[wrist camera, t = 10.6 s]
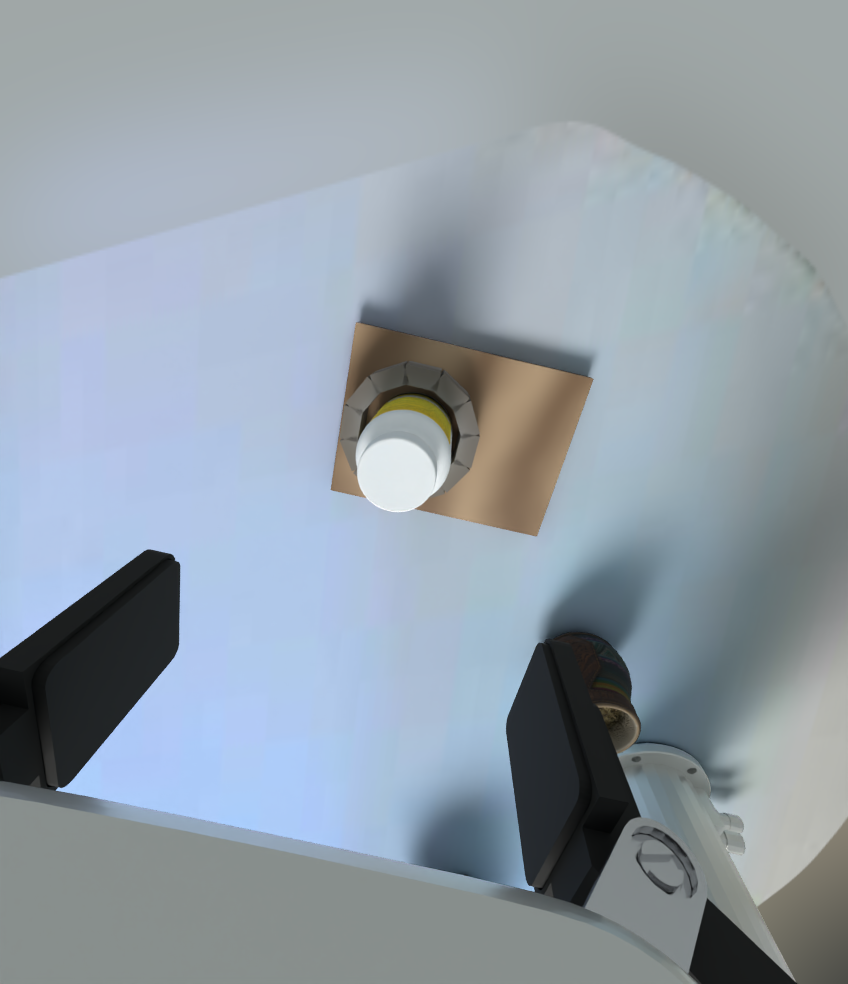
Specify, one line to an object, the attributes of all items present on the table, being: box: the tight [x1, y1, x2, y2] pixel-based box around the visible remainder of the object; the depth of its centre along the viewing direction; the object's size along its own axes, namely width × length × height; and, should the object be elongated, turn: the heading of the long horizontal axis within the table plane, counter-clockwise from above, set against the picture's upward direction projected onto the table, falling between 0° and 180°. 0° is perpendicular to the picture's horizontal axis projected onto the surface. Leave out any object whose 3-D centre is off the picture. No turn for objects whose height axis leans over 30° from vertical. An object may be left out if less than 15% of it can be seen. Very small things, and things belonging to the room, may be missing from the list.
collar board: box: [331, 322, 593, 536], centre depth 30 cm, size 16×12×4 cm
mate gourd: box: [553, 632, 641, 754], centre depth 34 cm, size 7×8×10 cm
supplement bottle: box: [356, 392, 452, 512], centre depth 26 cm, size 5×5×10 cm
